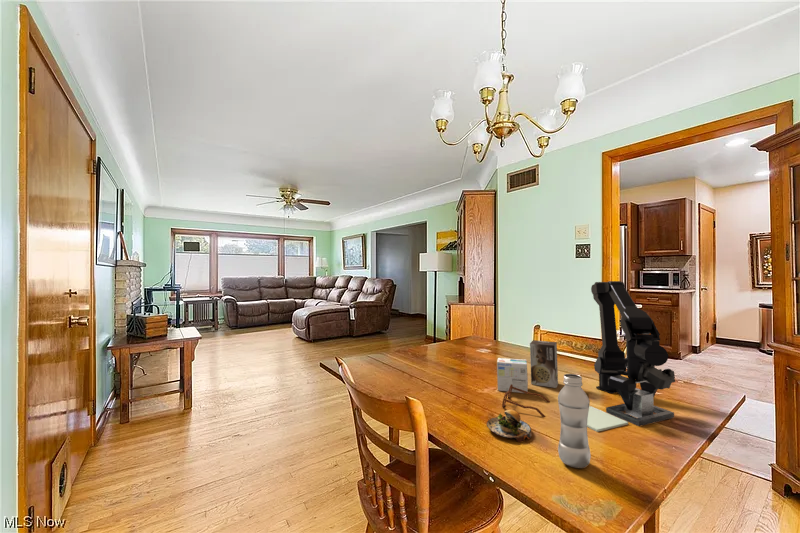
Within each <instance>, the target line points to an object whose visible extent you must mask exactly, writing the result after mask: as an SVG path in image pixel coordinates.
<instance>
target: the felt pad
mask: <svg viewBox="0 0 800 533" xmlns="http://www.w3.org/2000/svg"><path fill="white" fill-rule="evenodd" d="M627 425H629V422H628V421H625V420H623V419H621V418H618V417H616V416H614V415H611V414H609V413H607V412H606V411H603V410H601V409H598V408H596V407H594V406H592V405H589V412H588V421H587V429H588V428H589V429H590V430H592V431H594V432H596V433H597V432H603V431H607V430H611V429H614V428H615V429H616V428H618V427H619V428H620V427H624V426H627Z"/></svg>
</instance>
